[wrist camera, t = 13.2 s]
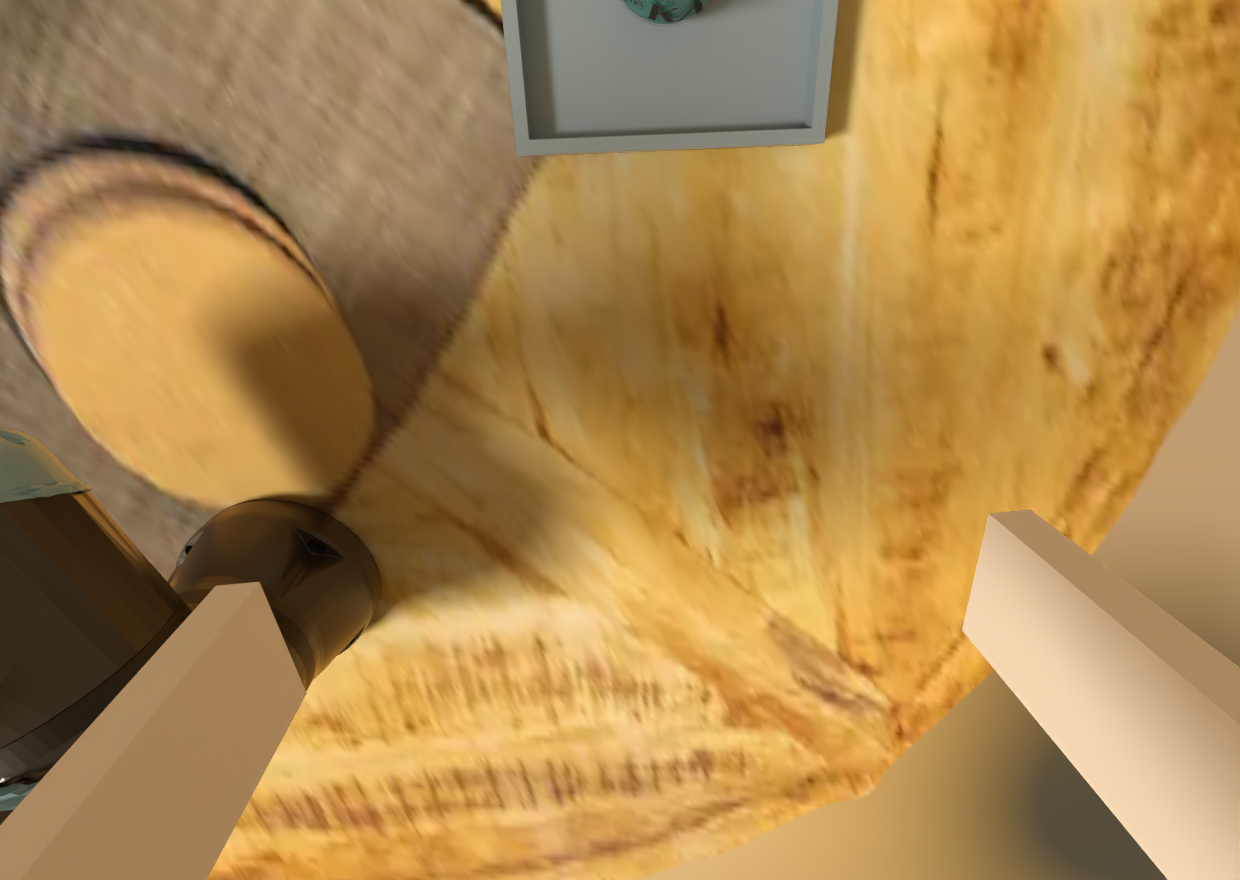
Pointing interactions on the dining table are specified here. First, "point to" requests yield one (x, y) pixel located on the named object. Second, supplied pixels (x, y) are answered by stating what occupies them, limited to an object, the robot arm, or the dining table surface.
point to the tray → (667, 76)
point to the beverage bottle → (665, 9)
